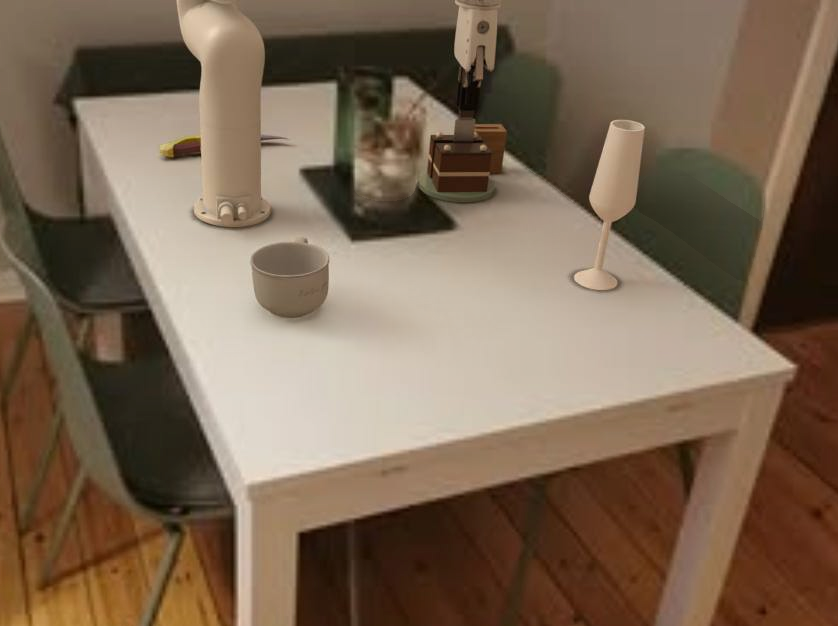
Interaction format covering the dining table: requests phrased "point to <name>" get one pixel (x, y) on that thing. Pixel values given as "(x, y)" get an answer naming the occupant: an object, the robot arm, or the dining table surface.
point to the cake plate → (429, 189)
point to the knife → (193, 145)
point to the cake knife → (464, 123)
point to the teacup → (290, 277)
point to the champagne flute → (613, 191)
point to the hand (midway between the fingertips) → (466, 107)
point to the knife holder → (493, 143)
